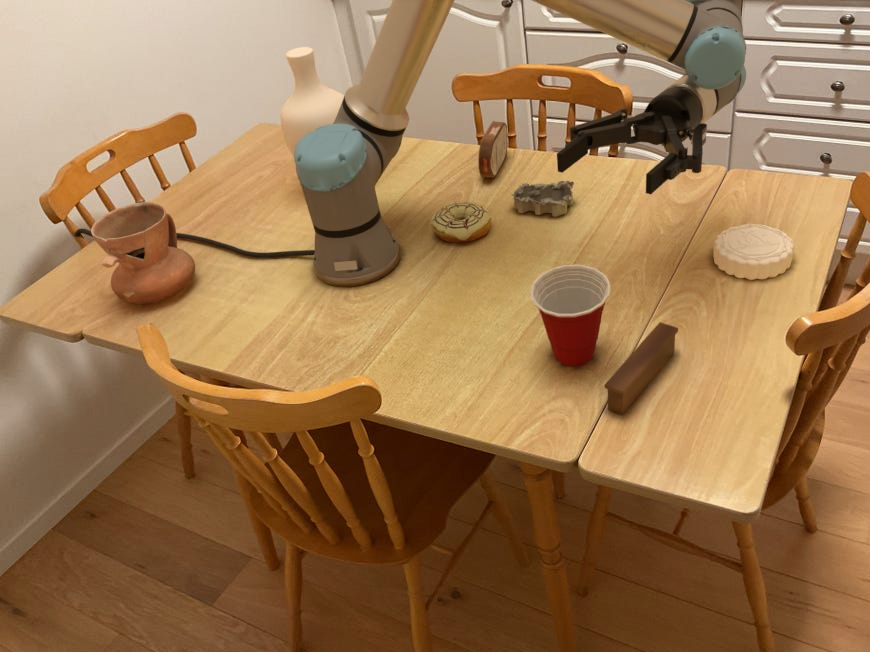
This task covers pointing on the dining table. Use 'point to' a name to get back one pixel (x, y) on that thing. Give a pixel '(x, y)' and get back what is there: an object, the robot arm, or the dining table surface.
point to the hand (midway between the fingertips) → (602, 173)
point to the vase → (307, 99)
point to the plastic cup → (571, 310)
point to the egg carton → (544, 198)
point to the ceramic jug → (143, 253)
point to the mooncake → (753, 251)
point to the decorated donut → (461, 222)
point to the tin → (493, 149)
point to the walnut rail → (640, 368)
